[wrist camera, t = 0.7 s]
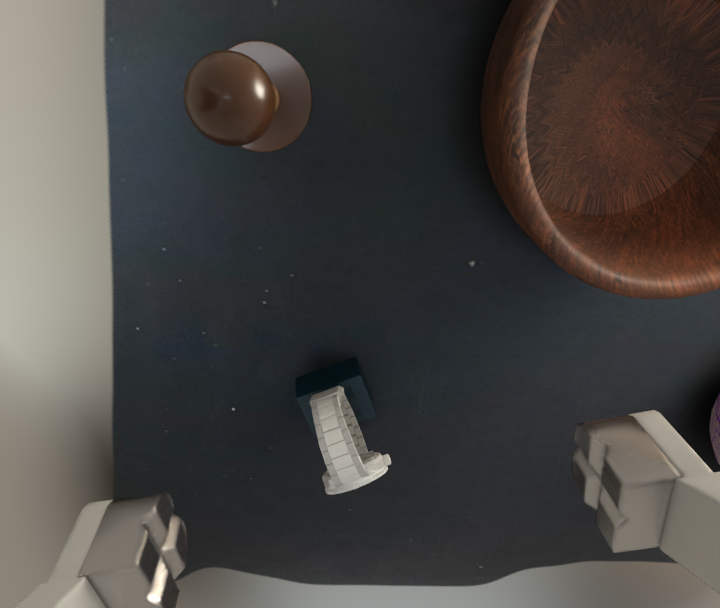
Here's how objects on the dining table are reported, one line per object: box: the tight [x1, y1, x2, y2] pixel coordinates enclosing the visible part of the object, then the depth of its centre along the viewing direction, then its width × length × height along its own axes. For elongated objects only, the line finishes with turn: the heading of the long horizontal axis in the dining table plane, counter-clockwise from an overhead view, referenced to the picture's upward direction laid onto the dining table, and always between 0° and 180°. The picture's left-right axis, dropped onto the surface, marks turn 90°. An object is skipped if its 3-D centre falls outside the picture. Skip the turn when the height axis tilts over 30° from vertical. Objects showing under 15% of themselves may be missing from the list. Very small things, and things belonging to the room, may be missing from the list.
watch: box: [296, 357, 391, 494], centre depth 40 cm, size 6×8×11 cm
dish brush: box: [184, 40, 312, 152], centre depth 25 cm, size 6×6×23 cm
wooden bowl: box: [481, 0, 720, 299], centre depth 34 cm, size 25×25×10 cm
